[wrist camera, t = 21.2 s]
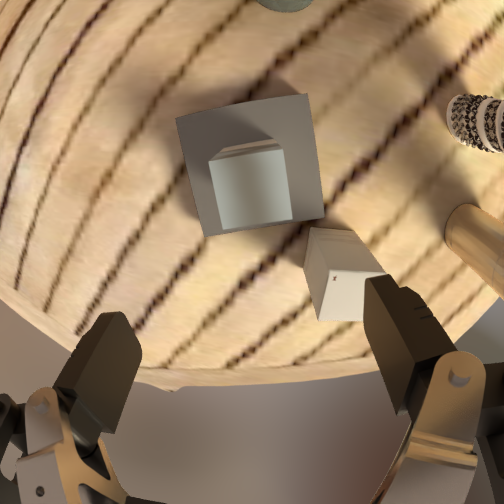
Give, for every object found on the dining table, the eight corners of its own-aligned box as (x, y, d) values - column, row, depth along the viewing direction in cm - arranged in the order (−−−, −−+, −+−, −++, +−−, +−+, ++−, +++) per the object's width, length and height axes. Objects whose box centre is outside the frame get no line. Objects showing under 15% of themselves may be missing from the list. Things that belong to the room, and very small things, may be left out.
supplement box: (301, 269, 45) (315, 322, 34) (309, 225, 42) (328, 268, 30) (345, 273, 45) (370, 323, 34) (356, 230, 42) (388, 272, 31)
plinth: (302, 95, 34) (307, 93, 30) (318, 208, 40) (324, 217, 37) (183, 117, 35) (175, 118, 31) (208, 226, 42) (204, 237, 38)
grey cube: (277, 142, 27) (282, 149, 22) (286, 199, 30) (292, 219, 24) (217, 152, 28) (208, 161, 22) (229, 208, 30) (223, 229, 25)
